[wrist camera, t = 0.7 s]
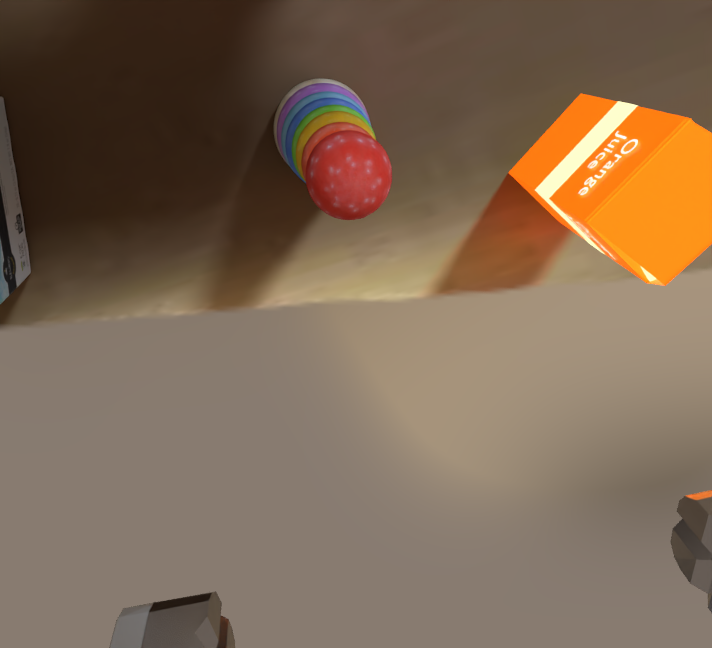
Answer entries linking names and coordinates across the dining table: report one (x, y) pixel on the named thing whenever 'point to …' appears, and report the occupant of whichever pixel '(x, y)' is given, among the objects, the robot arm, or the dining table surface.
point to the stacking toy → (333, 148)
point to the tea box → (10, 218)
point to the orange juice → (626, 183)
